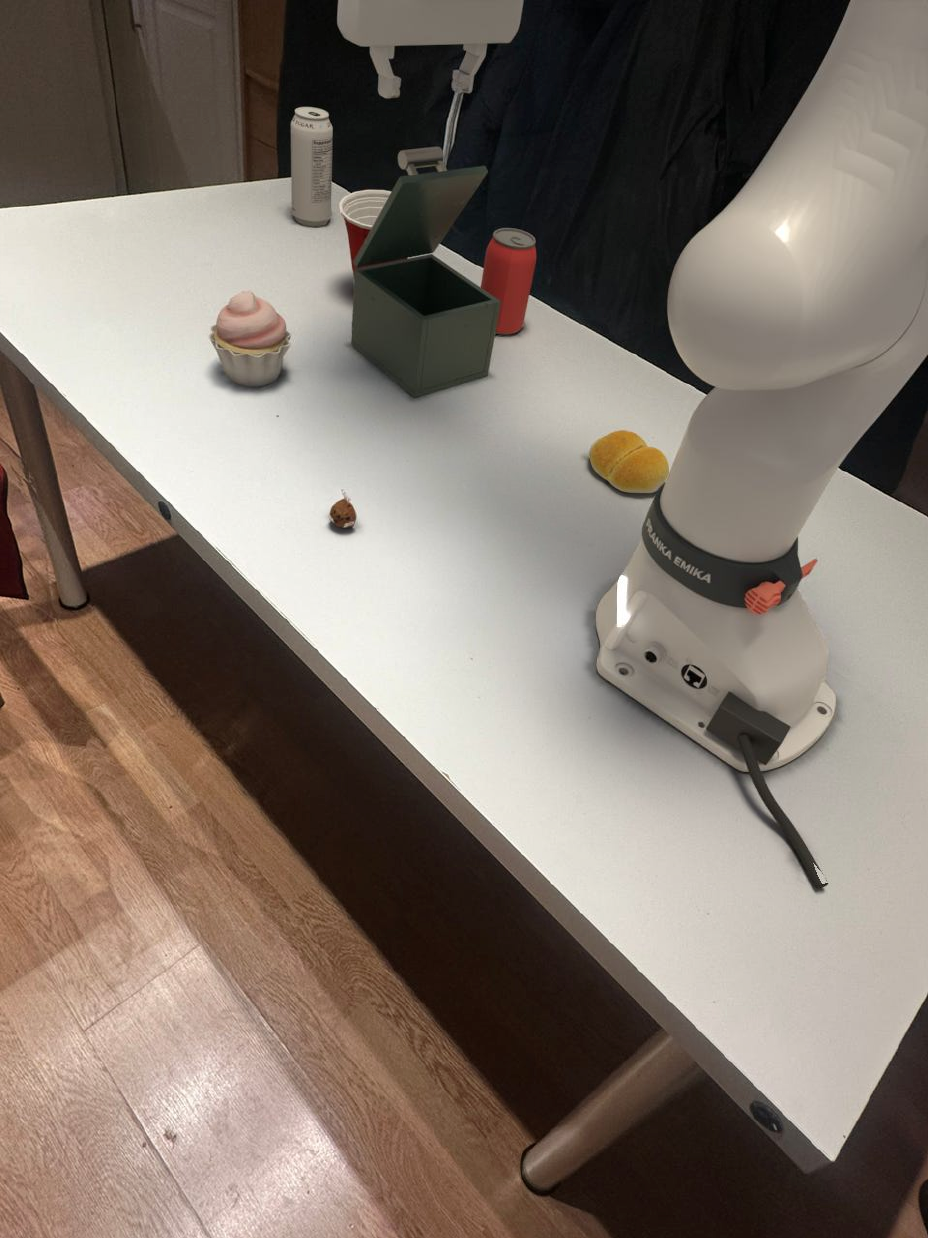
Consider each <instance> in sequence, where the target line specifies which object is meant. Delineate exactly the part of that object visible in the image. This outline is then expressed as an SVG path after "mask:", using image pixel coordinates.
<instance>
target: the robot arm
mask: <svg viewBox="0 0 928 1238" xmlns="http://www.w3.org/2000/svg"><path fill="white" fill-rule="evenodd" d="M523 7H524V0H337V12H336V13H337V15H336V24H337V27H338V29H339V32H340V33H341V35H342V37H343V38H344V39H345V40H347V41H349V42H351V43H352V44H355V45H356V46H359V47H369V55H370V58H371V61H372V63H373V65H374V68H375V70H376V73H377V75H378V79H377V80H378V82H377V83H378V84H377V92H378V94H379V96H380V97H383V98H384V99H395V98H399V97H400V95H401V90H400V88H401V85H402V84H401V83H402V78H401V77H399V76H396V75H395V74H394V73H393V68H392V65H391V63H390V60H392V59H394V57H395V47H398V46H399V47H400V46H437V45H438V46H439V45H443V46H444V45H463V47H462V50H463V51H466V53H465V55H464V57H463V60H462V62H461V64H460V66H459V67H458V68H459V69H453V70H452V77H451V78H452V81H451V89H452V91H454V92H456V93H457V94H460V95H461V94H471V93H472V91H473V89H474V88H473V87H474V80H475V75H476V74H477V72H478V70H479V69H480V67H481V66H482V63H483V61H484V60H485V58H486V55H487V49H488V44H510V43H511V42H512V41H513V40H514V38H515V36H516V35H517V33H518V31H519V29H520V24H521V20H522V15H523V14H522V13H523ZM666 302H667V303H666V304H667V305H666V307H667V310H666V312H667V321H668V327H669V328H668V329H669V332H670V335H671V338H672V342H673V344H674V347H675V349H676V351H677V353H678V355H679V356H680V358H681V360H682V361H683V363H684V364H685V365H686V367H687V368H688V369H689V370H690V371H691V372H692V373H693V374H694V375H695V376H696V377H697V378H699V379H700V380H701V381H703V382H705V383H706V384H708V385H710V386H713V388H712V389H711V390H710V391H709V392H708V393H707V394H706V395H705V396H704V398H703V399H702V400H701V401H700V402H699V404H698V405H697V407H696V408H695V410H694V411H693V412H692V414H691V417H690V419H689V421H688V424H687V427H686V429H685V432H684V435H683V437H682V440H681V442H680V445H679V446H678V449H677V452H676V455H675V458H674V460H673V462H672V465H671V467H670V470H669V473H668V476H667V479H666V480H665V482H664V484H663V485H661V486H660V488H659V489H658V490H657V491H655V495H654V497H653V500H652V501H651V504H650V507H649V508H648V510H647V513H646V516H645V519H644V521H643V523H642V527H641V539H640V541H639V543H638V545H637V547H636V549H635V550H634V553H633V554H632V556H631V558H630V559H629V561H628V563H627V565H626V567H625V568H624V570H623V572H622V573H621V574H620V576H619V578H617V580H616V581H615V583H614V584H613V585H612V586H611V588H609V590H608V591H607V592H605V594H604V595H603V596H602V598H601V599H600V600H599V603H598V605H597V607H596V610H595V629H596V633H597V636H598V641H599V646H600V648H599V652H598V654H597V659H596V670H597V672H598V674H599V675H600V676H601V677H602V678H603V679H604V680H606V681H608V682H609V683H611V684H612V685H614V686H615V687H616V688H618V689H619V690H621V691H622V692H623V693H625V694H627V696H629V697H631V698H633V699H634V700H635V701H637V702H638V703H640V704H641V705H642V706H644V707H646V708H647V709H648V710H650V711H651V712H652V713H654V714H656V715H657V716H658V717H660V718H661V719H663V720H664V721H666V722H667V723H668V724H670V725H671V726H673V727H674V728H676V729H677V730H679V731H680V732H681V733H682V734H684V735H686V736H687V737H689V738H690V739H692V740H693V741H694V742H695V743H697V744H699V745H700V746H702V747H703V748H705V749H706V750H707V751H709V752H710V753H712V754H713V755H715V756H716V757H718V758H719V759H721V760H722V761H723V762H725V763H726V764H728V765H729V766H731V767H733V768H734V769H736V770H738V771H740V772H743V773H744V772H745V773H748V774H749V776H750V778H751V781H752V783H753V785H754V788H755V790H756V792H757V794H758V795H759V797H760V799H761V801H762V803H763V804H764V806H765V807H766V809H767V811H768V812H769V813H770V814H771V816H772V817H773V819H774V820H775V821H776V823H777V824H778V826H779V827H780V828H781V830H782V832H784V834H785V836H786V838H787V839H788V840H789V842H790V844H791V845H792V847H793V848H794V850H795V852H796V855H798V857H799V859H800V860H801V861H800V862H802V864H803V866H804V868H805V869H806V871H807V873H808V875H809V877H810V878H811V880H812V882H813V883H814V885H815V887H816V888H817V890H819V889H822V888H825V887H827V886H828V885H829V882H828V880H827V879H826V881H827V882H828V883H825V884H822V883H821V881H820V879H819V877H818V875H817V872H816V870H815V867H814V864H815V865H816V866H817V868H818V869H819V870H820V871H821V872H822V870H821V868H820V867H819V865H818V863H817V861H816V859H815V858H814V856H813V855H812V853H811V851H810V849H809V847H808V846H807V844H806V843H805V841H804V839H803V838H802V836H801V834H800V832H799V831H798V830H797V828H796V827H795V826H794V824H793V823H792V821H791V819H790V818H789V816H788V815H787V814H786V813H785V811H784V810H783V808H782V807H781V806H780V804H779V803H778V801H777V800H776V799H775V797H774V795H773V793H772V792H771V790H770V788H769V786H768V784H767V782H766V780H765V778H764V776H763V773H762V772H765V771H770V770H773V769H778V768H779V767H782V766H784V765H787V764H788V763H790V762H792V761H794V760H796V759H798V757H800V756H801V755H803V754H804V753H806V752H807V751H808V750H809V749H810V748H812V746H814V745H815V743H816V742H818V741H819V740H820V738H821V737H822V736H823V735H824V733H825V732H826V730H827V729H828V727H829V725H830V723H831V722H832V720H833V718H834V715H835V711H836V707H837V698H836V697H837V696H836V693H835V692H834V691H833V689H832V688H831V687H830V686H829V685H828V683H826V682H825V680H824V679H825V676H826V674H827V669H828V666H829V661H830V651H829V646H828V644H827V642H826V640H825V639H824V636H823V635H822V633H821V631H820V630H819V628H818V626H817V624H816V622H815V620H814V617H813V616H812V614H811V612H810V610H809V607H808V606H807V604H806V602H805V600H804V599H803V596H802V594H801V592H800V590H799V588H798V587H799V585H800V583H801V581H802V580H803V579H804V578H806V577H807V576H809V575H810V574H811V572H812V571H813V569H814V568H815V566H816V564H817V562H818V561H819V560H818V559H817V558H814V559H812V560H811V561H809V562H808V563H805V564H804V565H802V566H801V562H800V558H799V557H800V556H799V534H800V533H801V531H802V529H803V528H804V526H805V525H806V523H807V521H808V519H809V518H810V517H811V514H812V512H813V510H814V509H815V507H816V506H817V504H818V503H819V500H820V499H821V497H822V495H823V494H824V491H825V490H826V488H827V486H828V485H829V483H830V481H831V479H832V478H833V476H834V475H835V473H836V471H837V470H838V468H839V467H840V466H841V464H842V463H843V462H844V460H845V459H846V458H847V456H848V455H849V453H850V452H851V451H852V450H853V448H854V447H855V446H856V444H857V443H858V442H859V441H860V439H861V438H862V437H863V436H864V434H865V433H866V432H867V431H868V430H869V429H870V427H871V426H872V425H873V424H874V423H875V422H876V421H877V419H878V418H879V417H880V416H881V414H882V413H883V412H884V411H885V410H886V408H887V407H888V406H889V404H891V402H892V401H893V399H895V397H896V396H897V395H898V393H900V391H901V390H902V389H903V387H904V386H905V385H906V384H907V382H908V381H909V380H910V378H911V377H912V376H913V375H914V373H915V372H916V371H917V369H918V368H919V367H920V365H922V363H923V362H924V360H925V359H926V358H927V356H928V0H850V1H849V3H848V5H847V9H846V11H845V13H844V16H843V18H842V21H841V23H840V25H839V27H838V29H837V32H836V33H835V35H834V38H833V40H832V42H831V45H830V47H829V48H828V50H827V52H826V54H825V56H824V58H823V60H822V61H821V64H820V66H819V67H818V69H817V71H816V73H815V75H814V76H813V78H812V80H811V81H810V83H809V85H808V87H807V88H806V90H805V91H804V93H803V95H802V97H801V98H800V100H799V101H798V103H797V105H796V106H795V108H794V110H793V112H792V113H791V115H790V116H789V118H788V119H787V121H786V123H785V124H784V126H783V127H782V129H781V131H779V134H778V135H777V137H776V138H775V140H774V141H773V143H772V145H771V146H770V147H769V149H768V151H767V152H766V153H765V155H764V157H763V158H762V160H761V161H760V163H759V164H758V166H757V167H756V169H754V172H753V173H752V174H751V176H750V177H749V178H748V180H747V181H746V182H745V184H744V185H743V187H742V188H741V189H740V191H738V193H737V194H736V195H735V197H733V199H732V200H731V201H730V202H729V203H728V204H727V206H725V208H723V210H722V211H721V212H719V213H718V214H717V215H716V216H715V217H714V218H713V219H712V220H711V221H710V222H709V223H707V224H706V225H705V226H704V227H703V228H701V230H699V231H698V232H697V233H696V234H695V235H694V236H693V237H692V238H691V239H690V240H689V242H688V243H687V244H686V245H685V247H684V248H683V249H682V252H681V253H680V255H679V257H678V258H677V260H676V263H675V265H674V268H673V271H672V274H671V277H670V280H669V285H668V291H667V301H666ZM813 863H814V864H813ZM822 874H823V872H822ZM823 875H824V874H823Z"/></svg>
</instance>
